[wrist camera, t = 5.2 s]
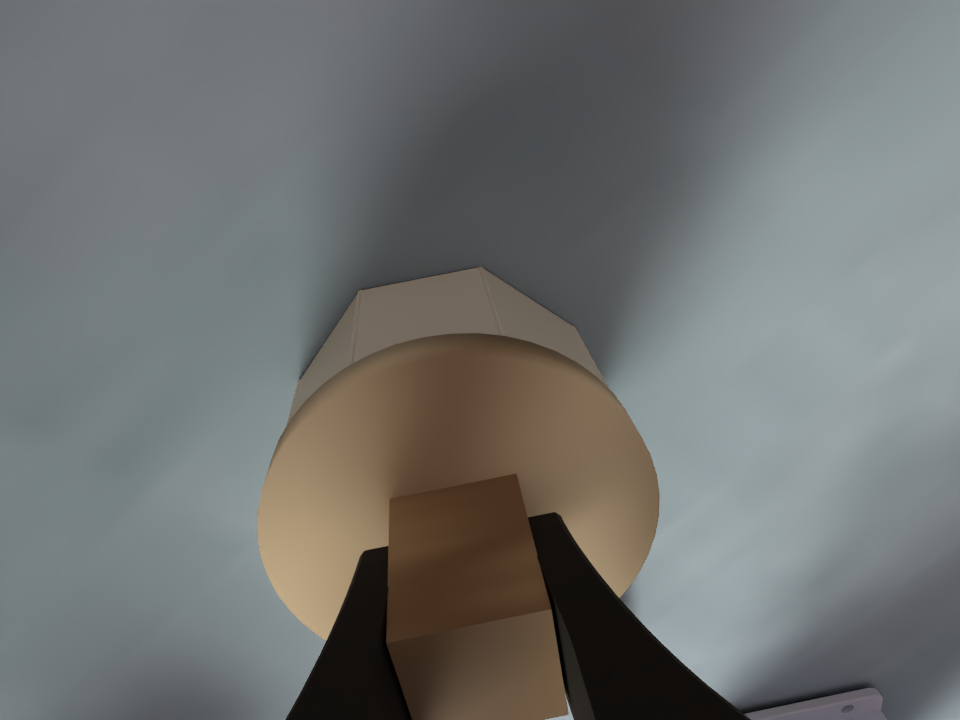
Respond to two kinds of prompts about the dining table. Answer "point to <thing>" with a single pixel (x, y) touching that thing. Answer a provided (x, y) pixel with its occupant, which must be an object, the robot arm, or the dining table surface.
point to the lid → (457, 510)
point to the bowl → (437, 322)
